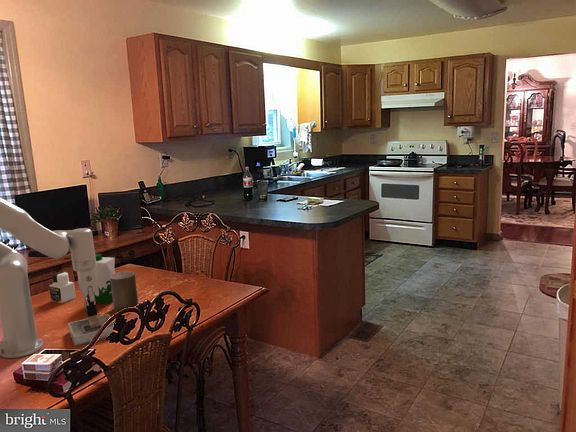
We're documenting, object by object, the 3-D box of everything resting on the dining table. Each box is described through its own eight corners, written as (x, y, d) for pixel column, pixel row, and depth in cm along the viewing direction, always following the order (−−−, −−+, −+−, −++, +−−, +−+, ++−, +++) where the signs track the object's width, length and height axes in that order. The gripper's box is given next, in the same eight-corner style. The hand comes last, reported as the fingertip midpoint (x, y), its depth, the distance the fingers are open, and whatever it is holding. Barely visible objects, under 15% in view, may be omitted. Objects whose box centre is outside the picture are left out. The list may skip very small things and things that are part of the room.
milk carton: (102, 296, 201) (97, 252, 198) (121, 297, 200) (116, 252, 196) (90, 303, 193) (84, 257, 189) (110, 304, 191) (104, 258, 187)
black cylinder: (91, 328, 162) (83, 296, 159) (89, 325, 164) (82, 294, 161) (100, 325, 163) (93, 293, 160) (98, 322, 166) (91, 291, 163)
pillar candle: (142, 306, 188) (139, 271, 185) (119, 313, 181) (115, 277, 179) (131, 301, 195) (128, 266, 192) (109, 307, 188) (105, 272, 185)
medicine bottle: (50, 301, 198) (47, 274, 195) (65, 295, 204) (61, 269, 202) (61, 303, 194) (58, 276, 192) (76, 297, 201) (72, 271, 198)
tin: (75, 346, 154) (73, 337, 154) (68, 332, 166) (67, 323, 165) (118, 335, 162) (117, 326, 161) (109, 322, 173) (108, 313, 173)
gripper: (100, 267, 154) (107, 318, 158) (91, 257, 168) (98, 304, 171) (76, 272, 150) (84, 324, 154) (69, 261, 164) (76, 309, 167)
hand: (91, 313), depth 163 cm, fingers closed on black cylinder, 3 cm apart
